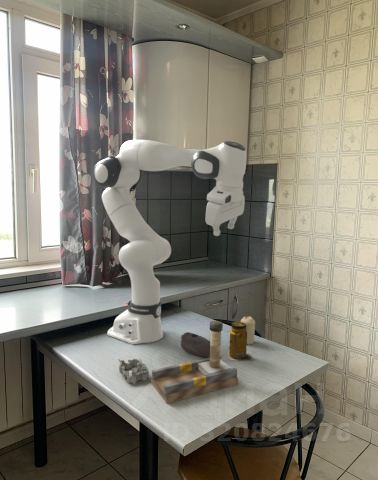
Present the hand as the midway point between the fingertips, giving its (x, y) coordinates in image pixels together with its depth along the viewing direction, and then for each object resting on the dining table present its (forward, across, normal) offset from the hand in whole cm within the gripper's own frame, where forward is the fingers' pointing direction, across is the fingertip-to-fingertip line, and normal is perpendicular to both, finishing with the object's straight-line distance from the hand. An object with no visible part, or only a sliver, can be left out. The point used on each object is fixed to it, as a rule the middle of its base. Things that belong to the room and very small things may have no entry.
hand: (223, 231), depth 129 cm
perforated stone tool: (+44, +12, +3) cm, 45 cm away
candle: (+45, -8, +12) cm, 47 cm away
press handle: (+37, +23, +15) cm, 46 cm away
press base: (+39, +29, +12) cm, 50 cm away
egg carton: (+41, +37, -6) cm, 56 cm away
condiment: (+43, +4, +15) cm, 45 cm away
